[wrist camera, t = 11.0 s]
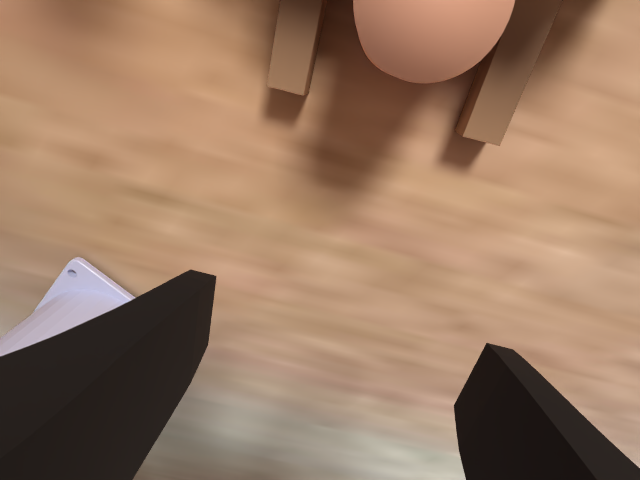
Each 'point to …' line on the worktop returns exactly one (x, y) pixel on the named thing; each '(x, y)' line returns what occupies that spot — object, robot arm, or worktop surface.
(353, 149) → the worktop surface
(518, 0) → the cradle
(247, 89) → the worktop surface
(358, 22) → the pink egg shape
